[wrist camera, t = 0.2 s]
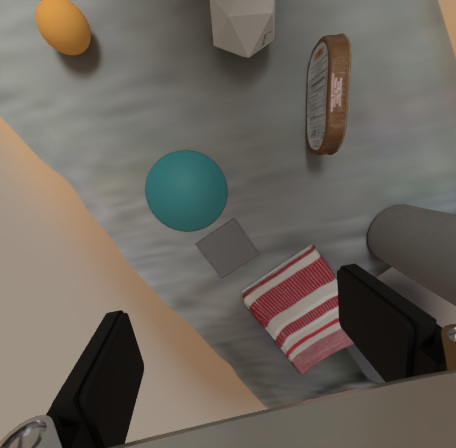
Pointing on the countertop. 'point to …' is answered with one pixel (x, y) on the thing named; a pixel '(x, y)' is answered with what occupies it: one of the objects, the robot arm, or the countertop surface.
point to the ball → (63, 26)
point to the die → (242, 25)
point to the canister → (418, 246)
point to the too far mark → (227, 248)
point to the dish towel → (299, 308)
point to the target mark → (186, 190)
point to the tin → (328, 94)
